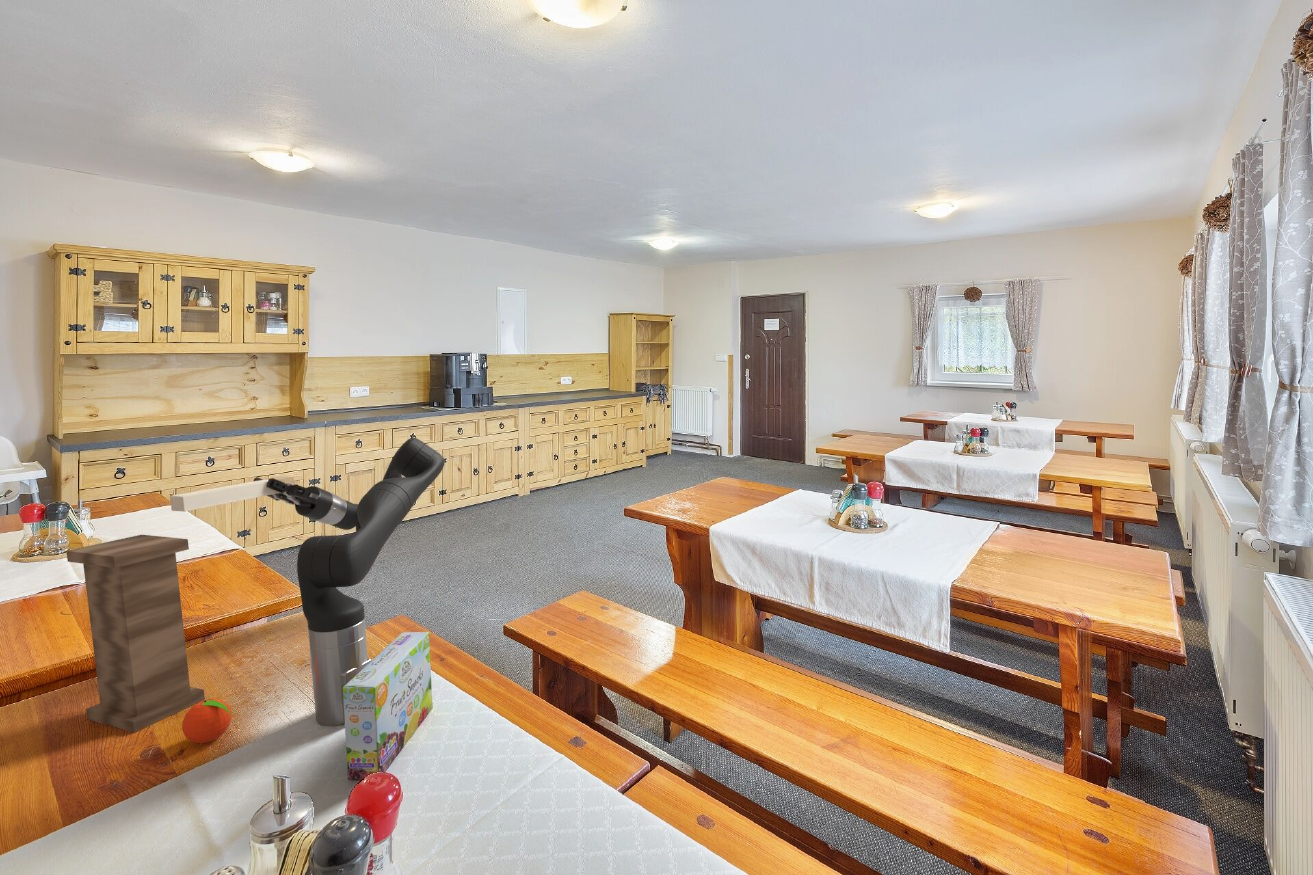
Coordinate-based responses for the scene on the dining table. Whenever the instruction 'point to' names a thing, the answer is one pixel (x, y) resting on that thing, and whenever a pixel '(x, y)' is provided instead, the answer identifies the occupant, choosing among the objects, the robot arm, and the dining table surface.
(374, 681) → the snack box
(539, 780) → the dining table surface
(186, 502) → the cream wooden bar
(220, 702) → the clementine
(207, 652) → the dining table surface
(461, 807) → the dining table surface
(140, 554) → the walnut pedestal
